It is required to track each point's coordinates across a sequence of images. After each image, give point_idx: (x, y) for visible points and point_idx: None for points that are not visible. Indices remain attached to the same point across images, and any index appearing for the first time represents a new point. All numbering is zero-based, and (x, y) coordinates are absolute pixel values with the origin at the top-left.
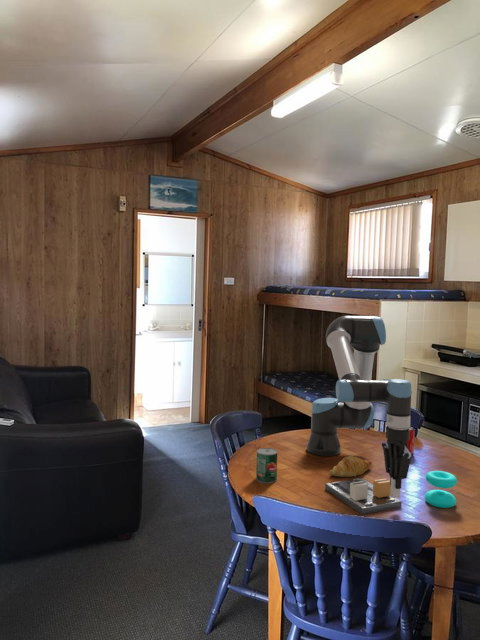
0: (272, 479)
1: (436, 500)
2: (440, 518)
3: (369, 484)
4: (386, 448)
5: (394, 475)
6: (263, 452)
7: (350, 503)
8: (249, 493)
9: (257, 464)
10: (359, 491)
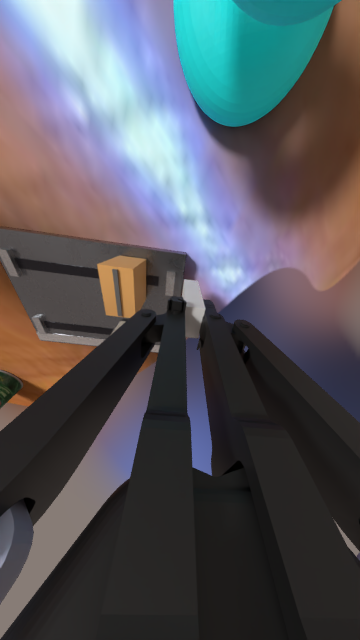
0: (14, 384)
1: (268, 100)
2: (298, 203)
3: (45, 245)
4: (29, 517)
5: (199, 347)
6: None
7: None
8: None
9: None
10: None
